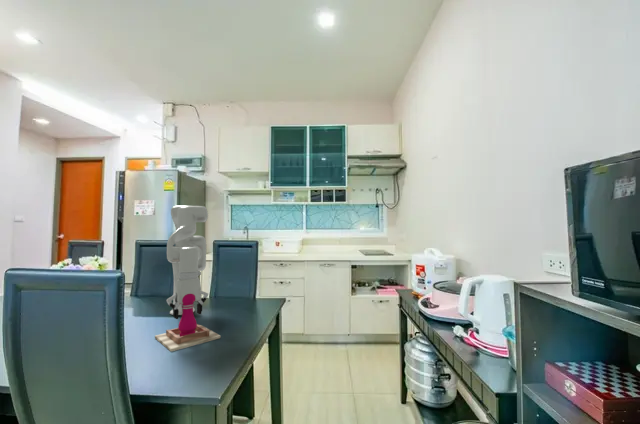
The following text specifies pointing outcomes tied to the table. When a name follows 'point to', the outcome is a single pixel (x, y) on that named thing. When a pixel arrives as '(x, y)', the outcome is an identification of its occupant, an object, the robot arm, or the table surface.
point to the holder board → (185, 338)
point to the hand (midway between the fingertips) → (187, 315)
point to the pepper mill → (187, 316)
